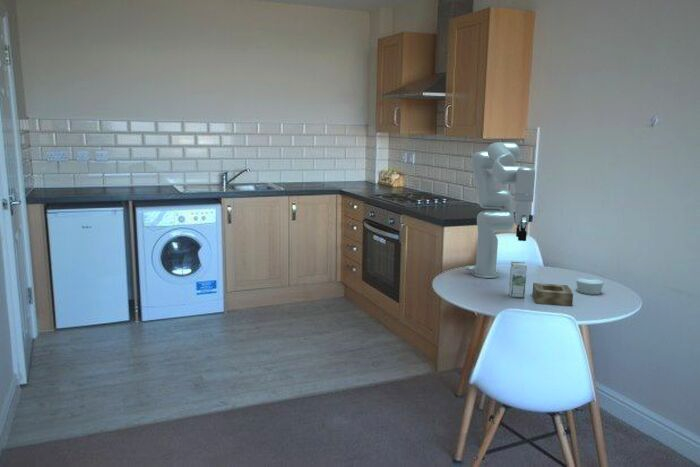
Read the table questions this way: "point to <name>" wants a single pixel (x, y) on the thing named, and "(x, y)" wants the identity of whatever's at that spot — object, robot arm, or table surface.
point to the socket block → (552, 294)
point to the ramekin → (589, 286)
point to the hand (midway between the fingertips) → (520, 238)
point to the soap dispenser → (517, 279)
